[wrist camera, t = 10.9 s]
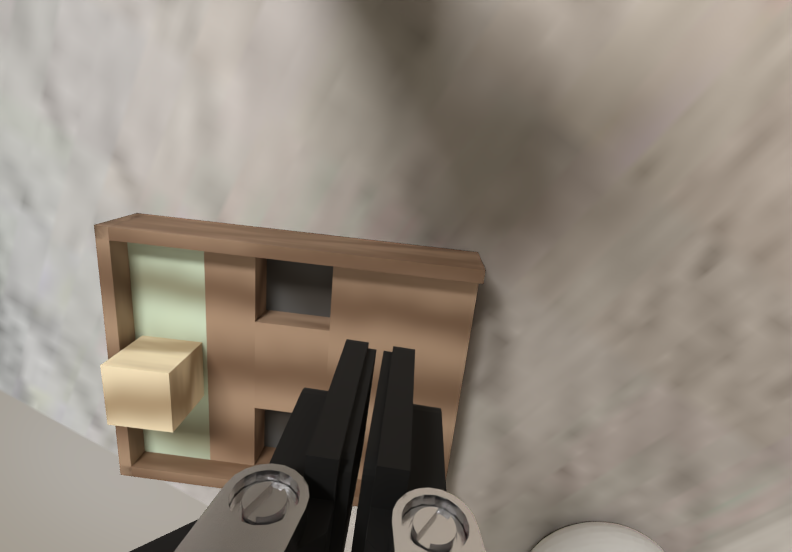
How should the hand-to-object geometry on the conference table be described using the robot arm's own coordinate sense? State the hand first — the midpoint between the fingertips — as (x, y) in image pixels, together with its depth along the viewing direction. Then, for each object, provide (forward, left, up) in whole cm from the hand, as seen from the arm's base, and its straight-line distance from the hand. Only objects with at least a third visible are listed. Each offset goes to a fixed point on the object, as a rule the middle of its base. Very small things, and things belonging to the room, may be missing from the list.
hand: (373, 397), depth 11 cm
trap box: (+13, -8, -26) cm, 30 cm away
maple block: (+14, -18, -23) cm, 32 cm away
